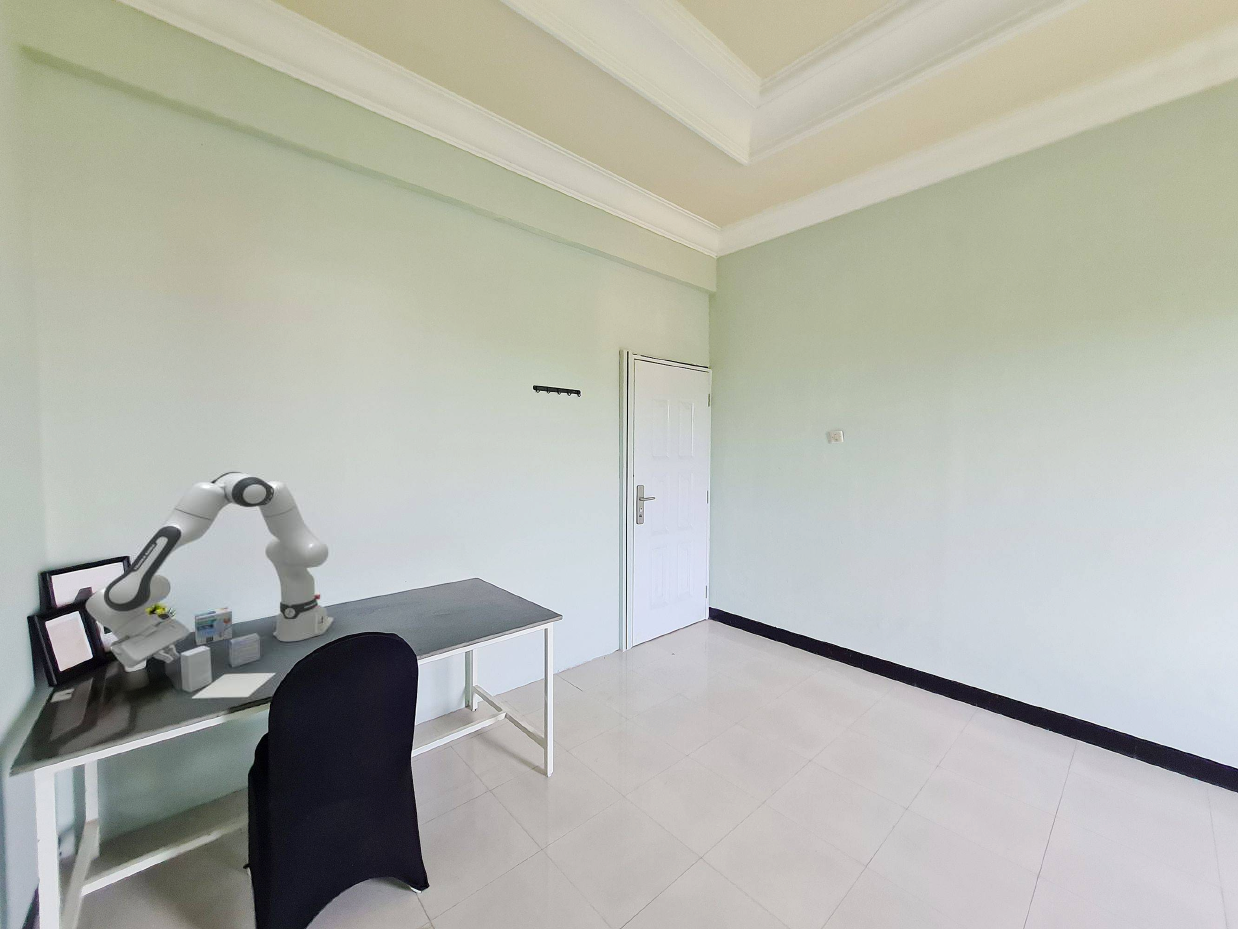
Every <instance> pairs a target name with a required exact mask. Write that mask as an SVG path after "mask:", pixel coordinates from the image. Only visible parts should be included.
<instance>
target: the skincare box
mask: <svg viewBox="0 0 1238 929" xmlns="http://www.w3.org/2000/svg"><path fill="white" fill-rule="evenodd" d="M179 655H180V656H179V657H180V668H181V684H182V685H181V686H182V688H181V689H182V690H183V691H185V692H188V693H192V692H194V691H197V690H199V689H202V688H204V687H207V686H209V685H210V684H212V683H213V680H212V679H213V678H212V662H211V661H212V659H211V648H210V647H208V646H205V645H199V646H198V647H194V648H192V649H189V650H186V651H183V652H181V653H179Z"/></svg>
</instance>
